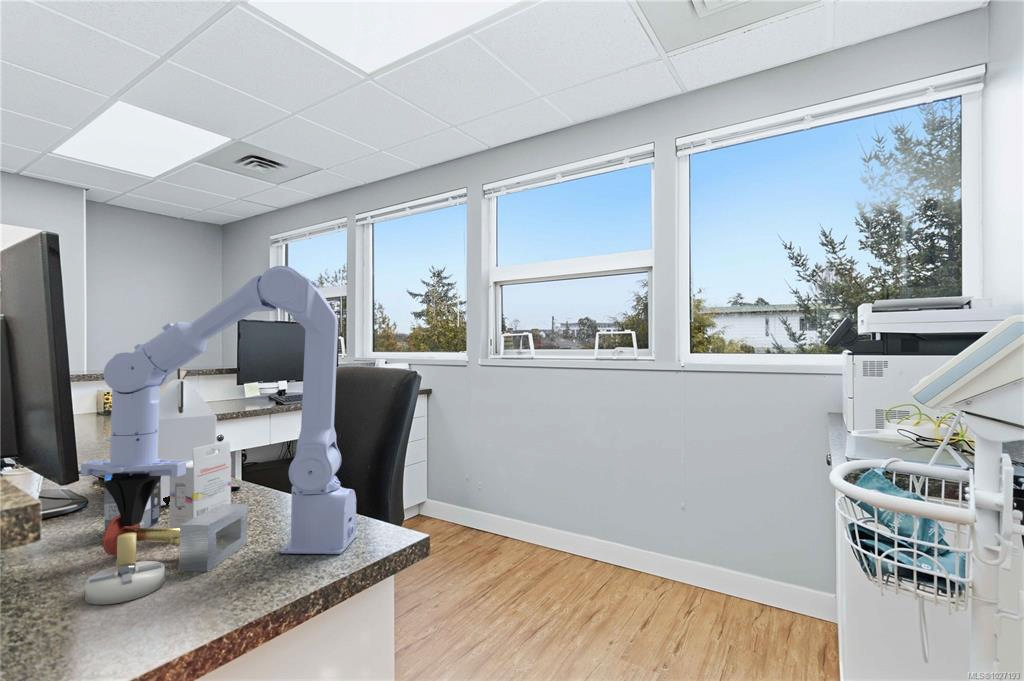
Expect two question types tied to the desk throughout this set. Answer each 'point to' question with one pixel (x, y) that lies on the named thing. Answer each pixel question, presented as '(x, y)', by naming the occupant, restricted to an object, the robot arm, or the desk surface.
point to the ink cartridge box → (201, 484)
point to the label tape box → (150, 513)
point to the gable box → (182, 423)
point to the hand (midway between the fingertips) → (132, 524)
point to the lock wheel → (124, 577)
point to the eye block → (212, 537)
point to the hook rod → (137, 535)
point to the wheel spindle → (126, 569)
